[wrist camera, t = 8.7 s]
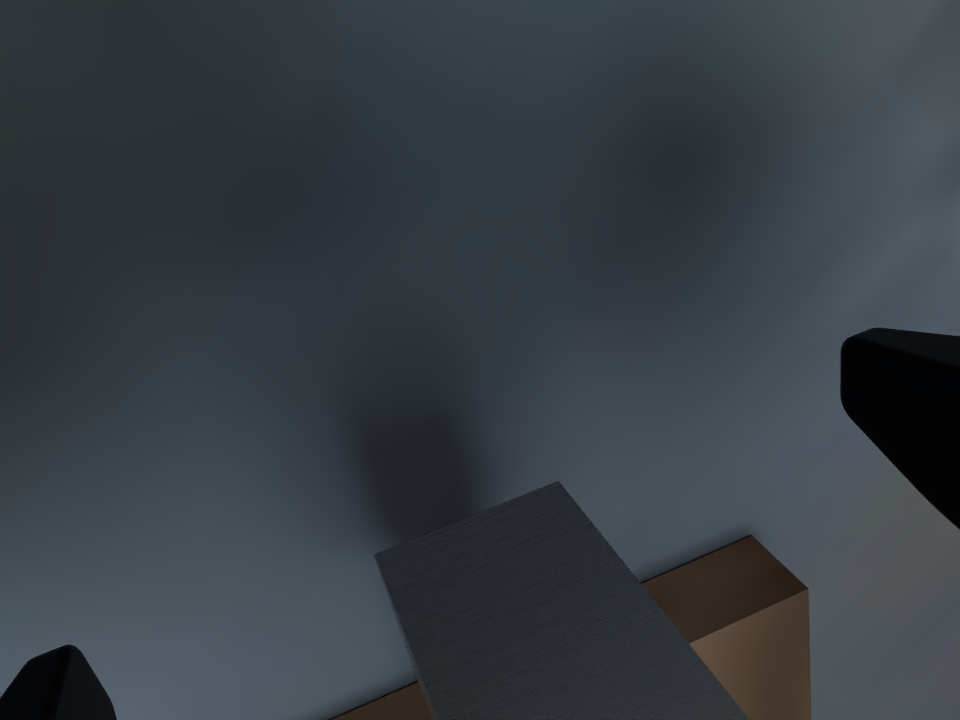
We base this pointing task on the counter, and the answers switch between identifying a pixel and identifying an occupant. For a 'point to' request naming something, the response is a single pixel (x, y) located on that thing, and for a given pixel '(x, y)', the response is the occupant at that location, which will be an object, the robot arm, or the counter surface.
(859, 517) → the counter surface
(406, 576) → the slider
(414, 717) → the track board
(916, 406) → the robot arm
